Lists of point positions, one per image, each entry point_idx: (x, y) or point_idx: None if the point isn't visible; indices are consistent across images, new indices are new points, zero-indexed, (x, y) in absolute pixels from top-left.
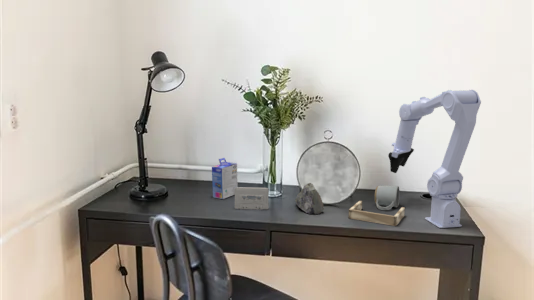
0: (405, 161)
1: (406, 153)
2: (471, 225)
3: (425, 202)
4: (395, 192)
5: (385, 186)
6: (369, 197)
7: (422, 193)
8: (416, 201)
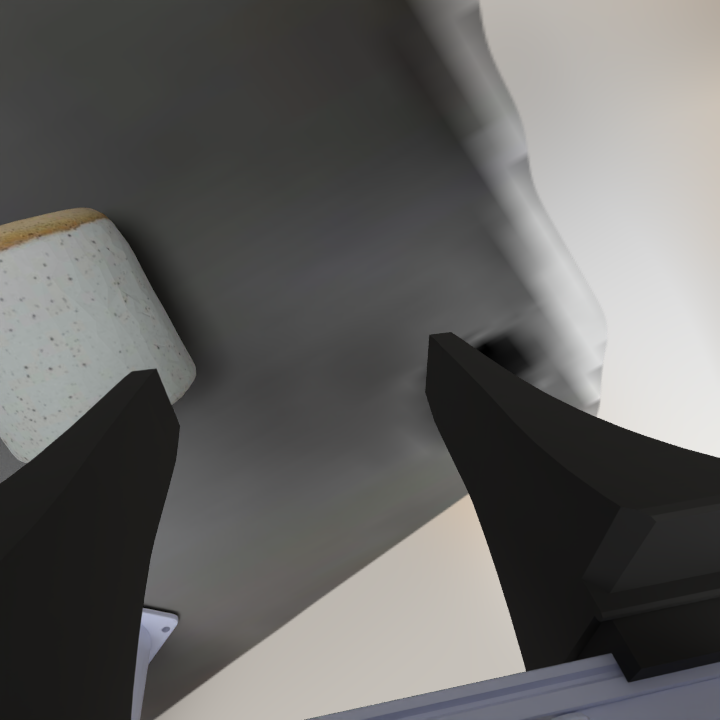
0: (455, 454)
1: (519, 567)
2: (174, 703)
3: (359, 425)
4: (15, 456)
5: (3, 348)
6: (169, 73)
7: (517, 322)
8: (342, 385)
